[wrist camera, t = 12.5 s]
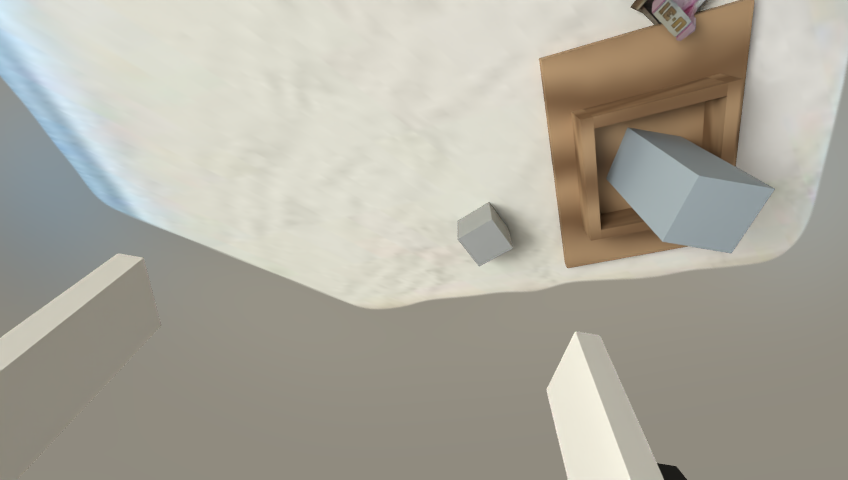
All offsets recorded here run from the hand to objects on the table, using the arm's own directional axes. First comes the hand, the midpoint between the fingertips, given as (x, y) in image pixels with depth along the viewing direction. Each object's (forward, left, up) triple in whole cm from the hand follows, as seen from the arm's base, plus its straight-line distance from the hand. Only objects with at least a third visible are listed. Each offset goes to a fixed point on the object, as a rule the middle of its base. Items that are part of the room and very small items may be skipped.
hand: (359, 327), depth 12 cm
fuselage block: (+9, +19, -28) cm, 35 cm away
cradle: (+9, +19, -29) cm, 36 cm away
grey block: (+13, +3, -29) cm, 32 cm away
